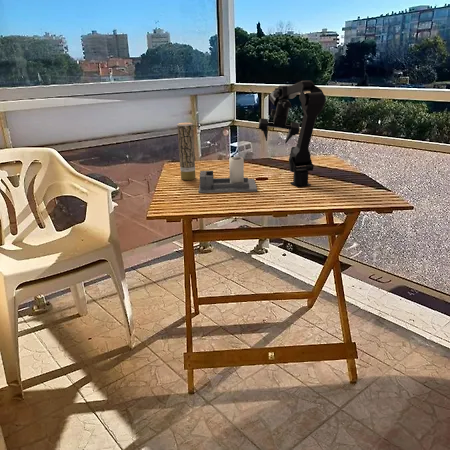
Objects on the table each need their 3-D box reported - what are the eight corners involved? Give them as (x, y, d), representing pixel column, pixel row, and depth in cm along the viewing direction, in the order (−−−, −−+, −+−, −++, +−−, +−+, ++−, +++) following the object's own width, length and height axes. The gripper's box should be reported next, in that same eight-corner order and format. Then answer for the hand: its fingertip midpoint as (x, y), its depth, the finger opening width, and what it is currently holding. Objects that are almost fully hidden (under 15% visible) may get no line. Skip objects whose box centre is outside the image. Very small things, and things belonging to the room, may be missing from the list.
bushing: (243, 181, 173) (243, 155, 169) (244, 185, 168) (244, 159, 163) (229, 182, 173) (229, 156, 169) (229, 186, 167) (229, 159, 163)
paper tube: (193, 181, 180) (190, 124, 171) (179, 180, 181) (175, 124, 172) (197, 177, 186) (194, 122, 177) (183, 176, 188) (179, 122, 178)
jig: (253, 180, 178) (253, 167, 176) (257, 191, 163) (257, 177, 161) (200, 182, 178) (199, 169, 176) (198, 193, 163) (197, 178, 161)
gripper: (301, 106, 185) (294, 135, 196) (262, 101, 185) (257, 130, 196) (302, 118, 177) (295, 148, 188) (261, 112, 178) (256, 142, 188)
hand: (275, 141), depth 190 cm, fingers open, 9 cm apart
